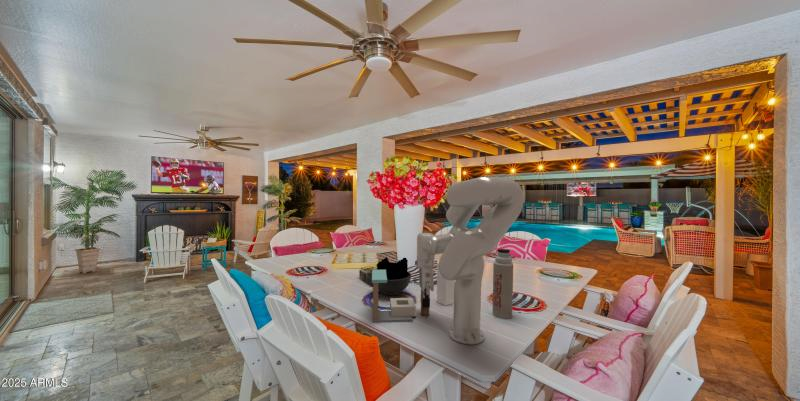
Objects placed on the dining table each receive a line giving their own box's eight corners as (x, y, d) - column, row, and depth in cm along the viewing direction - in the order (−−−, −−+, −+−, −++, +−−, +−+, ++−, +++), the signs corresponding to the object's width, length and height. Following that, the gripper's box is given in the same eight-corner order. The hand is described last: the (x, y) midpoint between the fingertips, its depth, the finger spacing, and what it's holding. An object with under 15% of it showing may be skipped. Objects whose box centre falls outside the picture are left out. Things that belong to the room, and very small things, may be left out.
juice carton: (357, 278, 176) (357, 267, 176) (372, 275, 181) (372, 266, 181) (371, 288, 159) (372, 277, 159) (387, 285, 164) (388, 274, 164)
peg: (430, 316, 123) (430, 288, 122) (421, 316, 123) (421, 288, 122) (428, 312, 126) (428, 285, 126) (420, 313, 126) (420, 285, 126)
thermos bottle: (501, 319, 120) (502, 252, 119) (488, 312, 127) (489, 248, 126) (516, 317, 123) (517, 250, 122) (503, 309, 130) (504, 247, 129)
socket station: (416, 321, 118) (416, 279, 117) (371, 322, 117) (371, 280, 116) (411, 305, 134) (412, 268, 133) (372, 306, 133) (372, 269, 132)
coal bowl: (363, 296, 145) (364, 259, 144) (383, 285, 163) (383, 251, 162) (400, 304, 136) (400, 263, 135) (416, 290, 154) (417, 255, 153)
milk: (445, 306, 134) (446, 258, 133) (436, 301, 139) (436, 255, 138) (454, 302, 138) (455, 256, 137) (445, 299, 143) (446, 254, 142)
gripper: (438, 267, 116) (438, 313, 116) (430, 257, 132) (430, 297, 133) (419, 267, 115) (419, 313, 116) (414, 257, 132) (413, 298, 132)
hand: (425, 304), depth 124 cm, fingers closed on peg, 3 cm apart
